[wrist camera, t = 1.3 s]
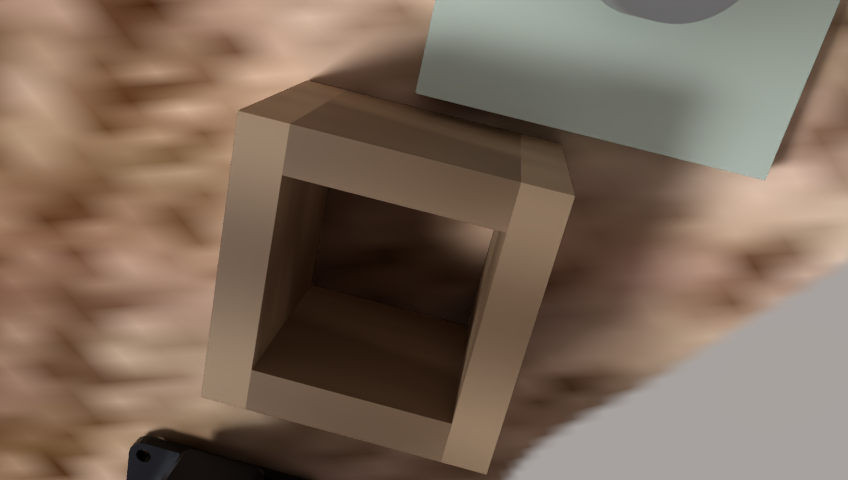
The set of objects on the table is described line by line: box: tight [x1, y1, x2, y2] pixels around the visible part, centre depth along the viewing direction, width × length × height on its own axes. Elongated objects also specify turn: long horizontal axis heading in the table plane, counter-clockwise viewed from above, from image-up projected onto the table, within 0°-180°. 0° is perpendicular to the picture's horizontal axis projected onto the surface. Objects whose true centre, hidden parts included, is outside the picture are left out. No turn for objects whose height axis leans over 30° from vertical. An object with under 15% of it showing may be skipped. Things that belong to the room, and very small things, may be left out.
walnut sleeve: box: [201, 80, 575, 475], centre depth 18 cm, size 7×7×5 cm
